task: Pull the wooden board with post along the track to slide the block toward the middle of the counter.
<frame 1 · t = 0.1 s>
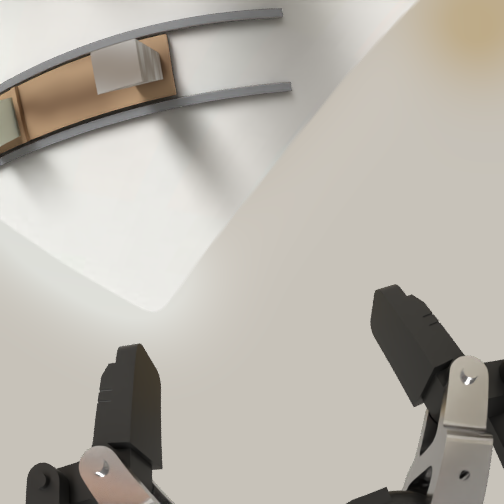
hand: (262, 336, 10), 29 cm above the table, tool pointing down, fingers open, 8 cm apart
wooden board with post: (37, 103, 21), point 8 cm above the table, slide at 0.0 cm, touching block
block: (1, 123, 26), point 2 cm above the table, touching wooden board with post
track: (114, 79, 28), on the table
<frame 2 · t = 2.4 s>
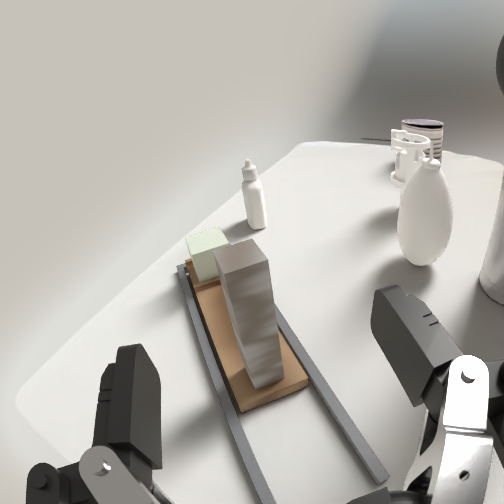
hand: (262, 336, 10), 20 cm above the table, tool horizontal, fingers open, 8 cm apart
wooden board with post: (222, 268, 34), point 8 cm above the table, slide at 0.0 cm, touching block
can: (421, 164, 73), on the table
sauce bottle: (418, 262, 42), on the table
strainer: (406, 210, 54), on the table
block: (214, 269, 45), point 2 cm above the table, touching wooden board with post
track: (252, 354, 34), on the table
eye dropper bottle: (257, 223, 58), on the table
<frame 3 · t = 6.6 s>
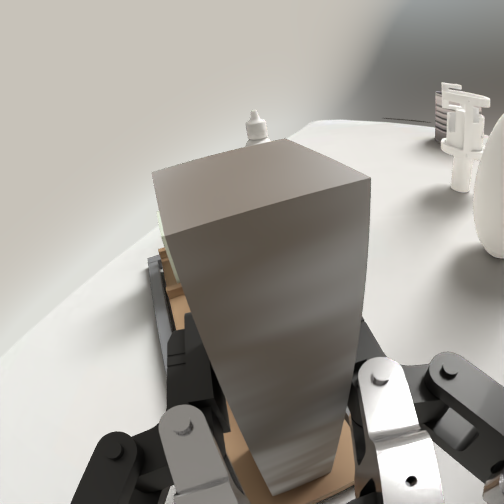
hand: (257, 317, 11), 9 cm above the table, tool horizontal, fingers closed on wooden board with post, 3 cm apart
wooden board with post: (208, 255, 18), point 8 cm above the table, slide at 0.0 cm, touching block, gripper
can: (457, 143, 56), on the table
sauce bottle: (495, 254, 25), on the table
strainer: (459, 189, 38), on the table
track: (264, 414, 17), on the table
eye dropper bottle: (267, 202, 41), on the table
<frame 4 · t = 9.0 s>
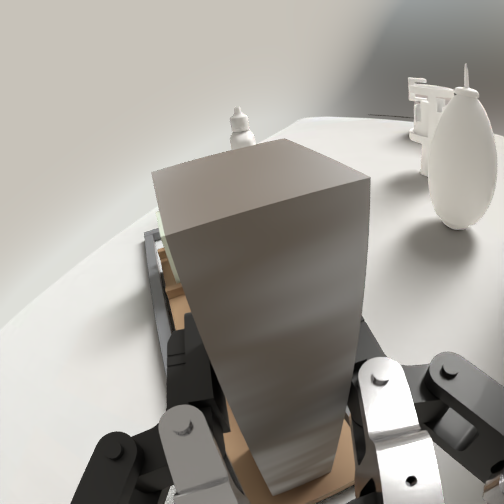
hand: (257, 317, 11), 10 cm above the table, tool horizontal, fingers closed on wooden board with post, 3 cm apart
wooden board with post: (208, 256, 18), point 8 cm above the table, slide at 6.3 cm, touching block, gripper
sauce bottle: (454, 227, 30), on the table
strainer: (429, 174, 43), on the table
block: (200, 263, 28), point 2 cm above the table, touching wooden board with post
track: (232, 344, 22), on the table
eye dropper bottle: (250, 187, 47), on the table
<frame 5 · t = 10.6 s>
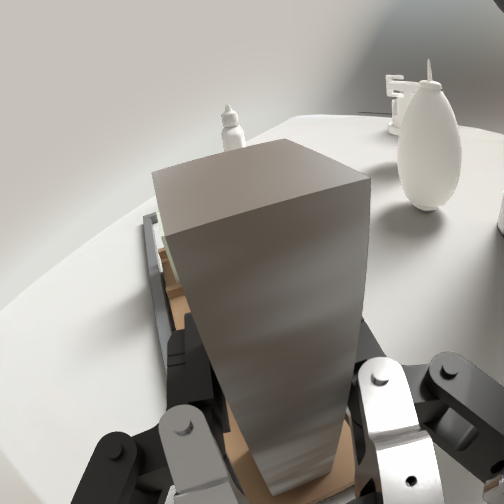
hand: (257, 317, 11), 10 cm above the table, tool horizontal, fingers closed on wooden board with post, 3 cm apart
wooden board with post: (208, 255, 18), point 8 cm above the table, slide at 11.4 cm, touching block, gripper
sauce bottle: (424, 209, 35), on the table
strainer: (408, 165, 47), on the table
track: (215, 302, 26), on the table
eye dropper bottle: (240, 177, 51), on the table
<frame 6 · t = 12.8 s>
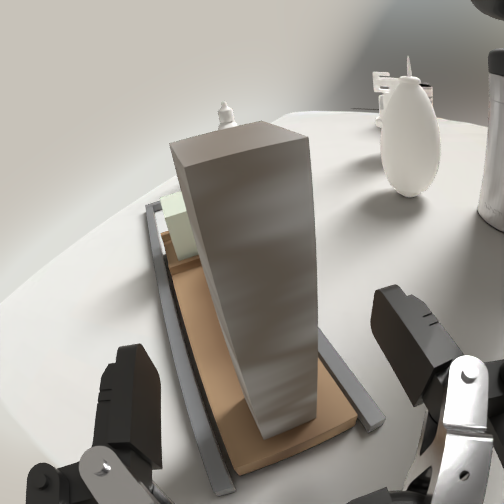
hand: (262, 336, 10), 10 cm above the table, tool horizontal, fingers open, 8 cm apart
wooden board with post: (207, 228, 20), point 8 cm above the table, slide at 11.7 cm, touching block
sauce bottle: (408, 195, 38), on the table
strainer: (395, 156, 50), on the table
block: (200, 244, 31), point 2 cm above the table, touching wooden board with post
track: (212, 276, 29), on the table
eye dropper bottle: (236, 170, 54), on the table
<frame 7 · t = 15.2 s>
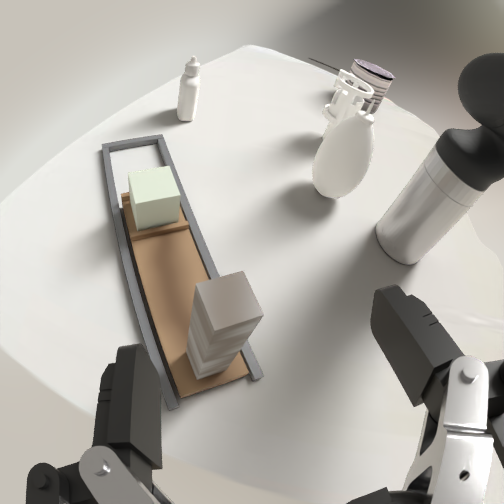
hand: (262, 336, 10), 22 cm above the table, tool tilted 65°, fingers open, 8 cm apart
wooden board with post: (174, 240, 29), point 8 cm above the table, slide at 11.7 cm, touching block
can: (358, 102, 76), on the table
sauce bottle: (324, 192, 50), on the table
strainer: (328, 140, 60), on the table
block: (153, 212, 38), point 2 cm above the table, touching wooden board with post
track: (159, 241, 37), on the table
eye dropper bottle: (185, 115, 54), on the table
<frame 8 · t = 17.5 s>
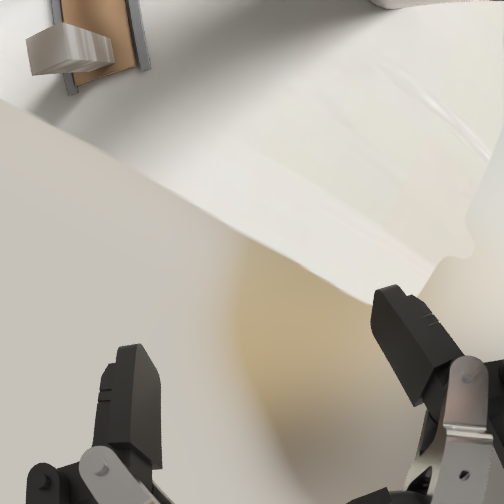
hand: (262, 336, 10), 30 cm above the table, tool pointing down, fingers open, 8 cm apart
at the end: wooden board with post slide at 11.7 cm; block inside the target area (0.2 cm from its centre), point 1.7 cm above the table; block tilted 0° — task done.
